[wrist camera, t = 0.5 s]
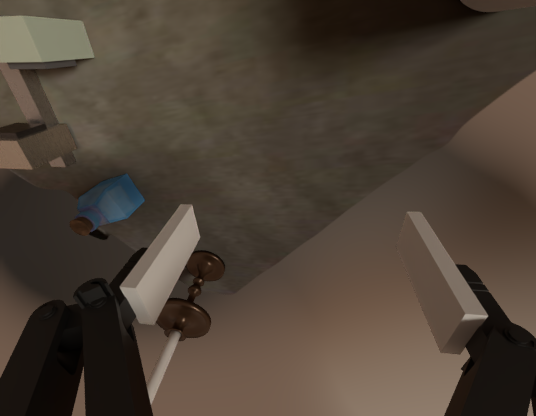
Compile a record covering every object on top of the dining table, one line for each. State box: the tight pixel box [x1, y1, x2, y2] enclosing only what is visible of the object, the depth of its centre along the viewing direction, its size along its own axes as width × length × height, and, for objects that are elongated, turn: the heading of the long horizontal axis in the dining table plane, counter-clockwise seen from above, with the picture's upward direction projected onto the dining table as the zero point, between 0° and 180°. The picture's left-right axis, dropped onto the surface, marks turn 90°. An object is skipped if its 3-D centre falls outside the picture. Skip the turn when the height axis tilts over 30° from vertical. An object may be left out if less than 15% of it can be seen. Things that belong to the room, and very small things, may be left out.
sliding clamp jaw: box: [0, 16, 95, 69], centre depth 33 cm, size 5×7×9 cm
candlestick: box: [146, 250, 225, 404], centre depth 45 cm, size 11×11×35 cm
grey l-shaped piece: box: [0, 15, 77, 170], centre depth 38 cm, size 22×7×10 cm, turn 1°
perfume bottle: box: [70, 174, 145, 236], centre depth 46 cm, size 6×6×12 cm
